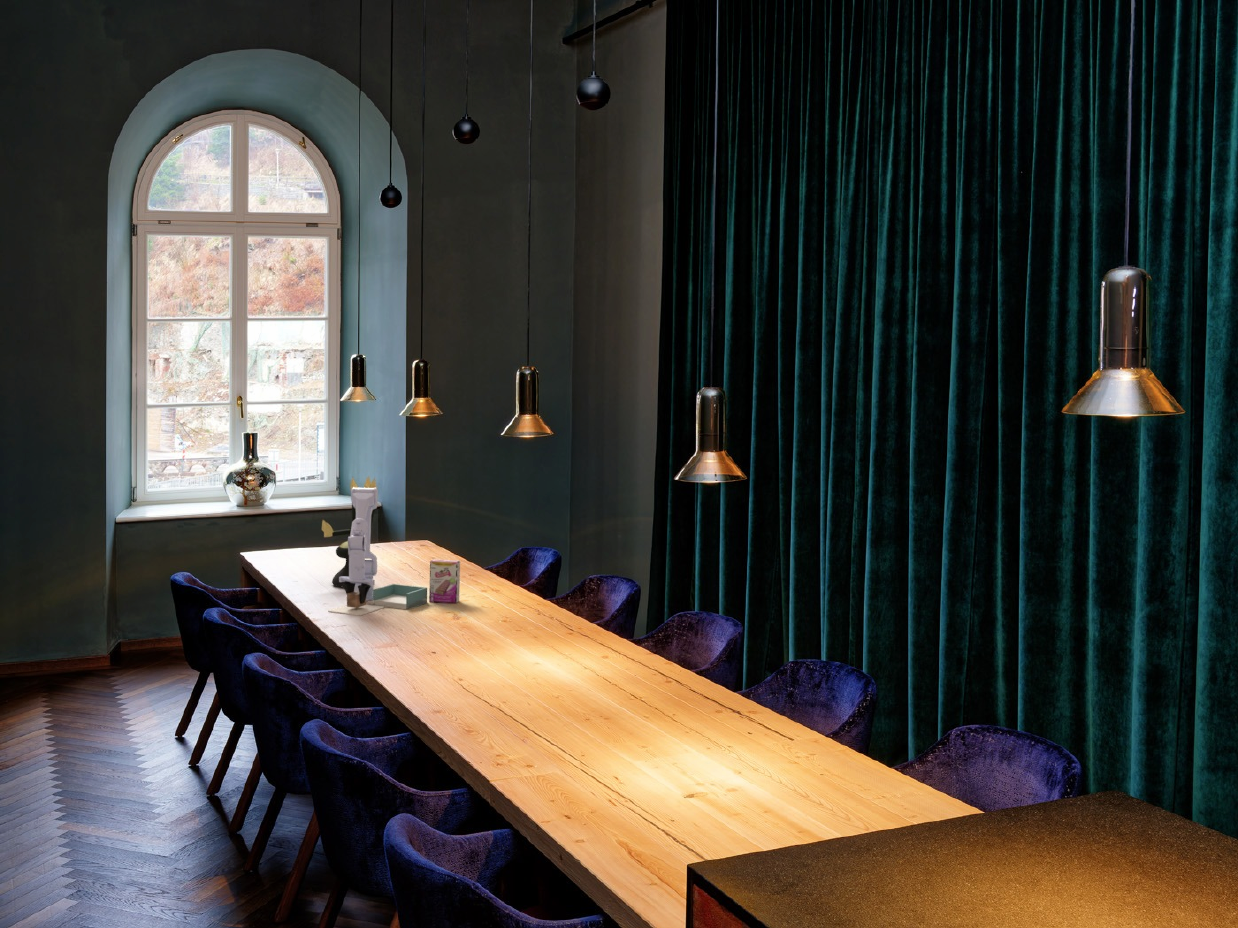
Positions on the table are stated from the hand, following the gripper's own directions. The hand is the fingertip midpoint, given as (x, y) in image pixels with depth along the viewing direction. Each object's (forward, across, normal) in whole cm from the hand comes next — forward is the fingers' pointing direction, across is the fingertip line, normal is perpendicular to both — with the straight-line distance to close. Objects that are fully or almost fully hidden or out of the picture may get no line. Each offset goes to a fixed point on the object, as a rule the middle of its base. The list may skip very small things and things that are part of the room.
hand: (356, 602), depth 449 cm
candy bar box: (+3, +21, +29) cm, 36 cm away
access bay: (+3, +8, +17) cm, 19 cm away
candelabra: (+3, -29, +41) cm, 50 cm away
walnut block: (+1, 0, 0) cm, 1 cm away
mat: (+3, 0, 0) cm, 3 cm away
